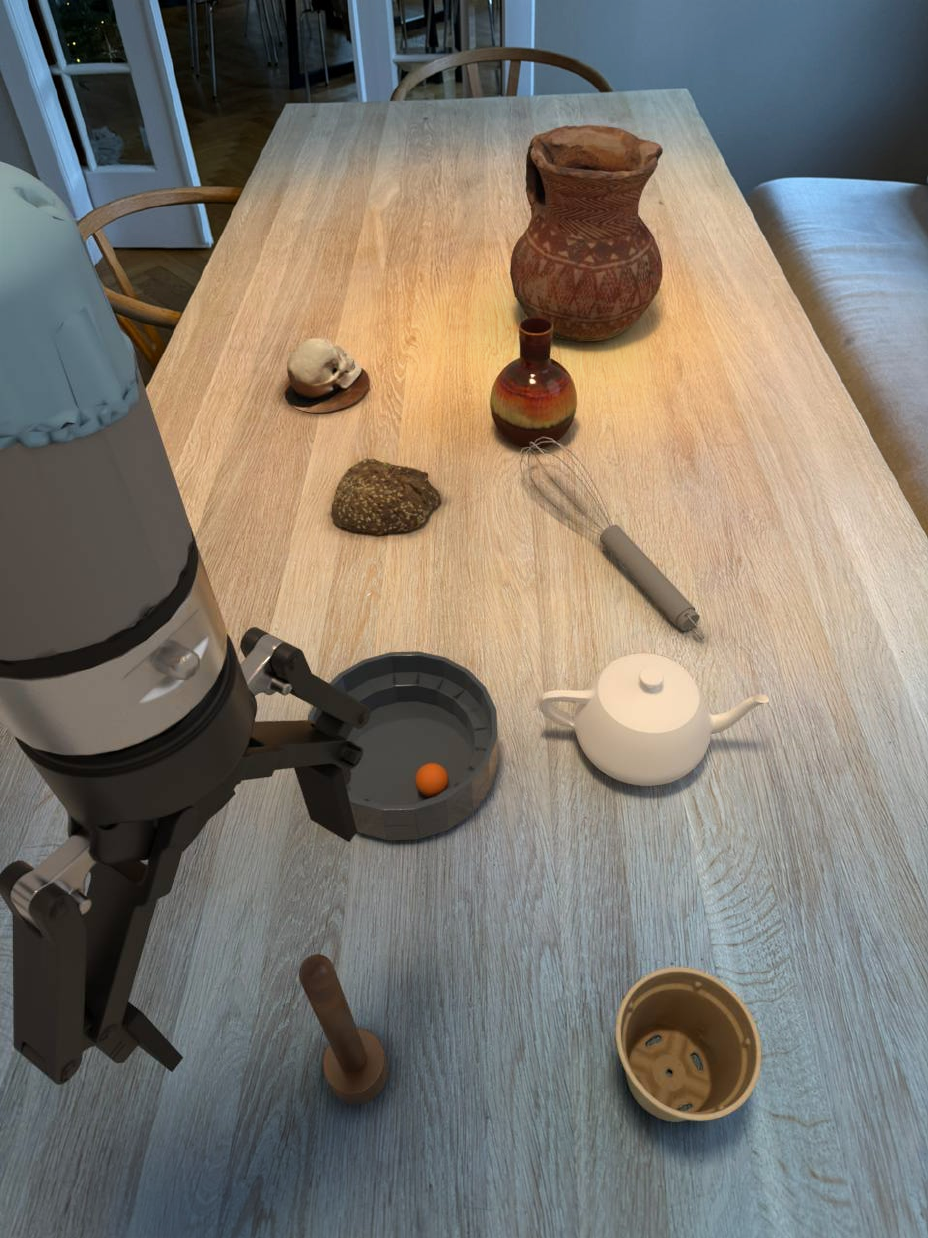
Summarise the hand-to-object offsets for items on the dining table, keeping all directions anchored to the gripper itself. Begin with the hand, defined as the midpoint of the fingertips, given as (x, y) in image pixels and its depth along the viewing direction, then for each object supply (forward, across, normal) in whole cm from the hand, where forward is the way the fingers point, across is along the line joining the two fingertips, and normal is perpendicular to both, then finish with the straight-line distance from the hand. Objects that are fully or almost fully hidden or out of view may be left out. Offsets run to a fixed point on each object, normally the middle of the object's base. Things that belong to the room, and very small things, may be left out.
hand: (253, 928), depth 45 cm
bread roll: (+27, +54, +33) cm, 69 cm away
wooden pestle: (+26, +1, -2) cm, 27 cm away
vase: (+27, +76, +25) cm, 84 cm away
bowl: (+26, +25, +10) cm, 38 cm away
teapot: (+27, +39, -8) cm, 48 cm away
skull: (+27, +70, +55) cm, 93 cm away
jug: (+27, +104, +32) cm, 112 cm away
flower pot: (+27, +13, -21) cm, 37 cm away
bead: (+24, +24, +6) cm, 34 cm away
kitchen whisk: (+27, +61, +7) cm, 67 cm away
